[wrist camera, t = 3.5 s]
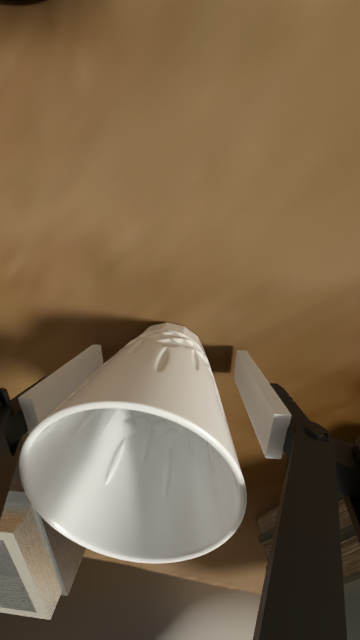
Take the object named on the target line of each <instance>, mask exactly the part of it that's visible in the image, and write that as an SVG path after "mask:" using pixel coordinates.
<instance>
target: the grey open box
mask: <svg viewBox="0 0 360 640" xmlns="http://www.w3.org/2000/svg"><path fill="white" fill-rule="evenodd" d="M28 435H29V433H28V431H27V432H26V433H25V434H24V435H23V436H22V439H23V444H24V442H25V440H26V438H27V437H28ZM23 444H22V446H23ZM21 449H22V447H21ZM20 453H21V451H20ZM19 458H20V454H19ZM19 458H18V461H17V465H16V468H15V471H14V475H13V478H12V482H11V485H10V488H9V492H8V495H7V499H6V502H5V506H4V509H3V512H2V516H1V519H0V612H2V613H9V614H15V615H22V616H29V617H36V618H42V619H48V620H50V619H51V616H52V614H53V612H54V609H55V606H56V604H57V602H58V599H59V597H60V595H66V596H68V593H69V591H70V588H71V586H72V583H73V580H74V578H75V575H76V573H77V570H78V567H79V565H80V562H81V560H82V557H83V554H84V552H85V549H86V548H85V547H83V546H81V545H79V544H77V543H75V542H73V541H72V540H70V539H68V538H67V537H65V536H64V535H62V534H61V533H59V532H58V531H57V530H55V529H54V528H53V527H52V526H51V525H49V524H48V523H47V522H46V521H45V520H44V519H43V518H42V517H41V516H40V515H39V513H38V512H37V511H36V510H35V508H34V507H33V506H32V504H31V503H30V501H29V499H28V498H27V496H26V494H25V492H24V489H23V486H22V483H21V480H20V474H19Z"/></svg>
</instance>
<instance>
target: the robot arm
mask: <svg viewBox="0 0 360 640" xmlns="http://www.w3.org/2000/svg"><path fill="white" fill-rule="evenodd" d="M102 365H103V357H102V349H101V345H91V346H90V347H88V348H87V349H86V350H84V351H83V352H81V353H80V354H79V355H77V356H76V357H74V358H73V359H72V360H70V361H69V362H67V363H66V364H65V365H63V366H62V367H60V368H59V369H58V370H56V371H55V372H53V373H51V374H49V375H47V376H45V377H43V378H42V379H40V380H39V381H37V383H35V384H33V385H32V386H31V387H29V388H27V389H26V390H25V391H23V392H22V393H20V394H19V395H17V396H16V397H14V398H13V399H12V400H10V399H9V396H8V393H7V390H6V389H4V388H0V519H1V516H2V512H3V509H4V506H5V502H6V499H7V495H8V492H9V488H10V485H11V482H12V478H13V475H14V471H15V468H16V465H17V461H18V458H19V454H20V451H21V447H22V444H23V439H22V436H23V435H24V434H25V433H26V432H27V431H28V433H29V434H30V432H31V431H32V430H33V429H34V428H35V427H36V426H37V425H38V424H39V423H40V422H41V421H42V420H43V419H44V418H46V417H47V416H48V415H49V414H50V413H51V412H52V411H53V410H54V409H55V408H57V407H58V406H59V405H60V404H61V403H62V402H63V401H64V400H65V399H66V398H68V397H69V396H70V395H71V394H72V393H73V392H74V391H75V390H76V389H77V388H78V387H80V386H81V385H82V384H83V383H84V382H85V381H86V380H87V379H88V378H89V377H90V376H92V375H93V374H94V373H95V372H96V371H97V370H98V369H99V368H100V367H101V366H102ZM234 380H235V383H236V385H237V388H238V390H239V393H240V395H241V398H242V400H243V403H244V405H245V408H246V410H247V413H248V415H249V418H250V420H251V423H252V425H253V428H254V430H255V433H256V436H257V438H258V441H259V443H260V446H261V448H262V451H263V453H264V456H265V458H272V459H281V458H282V454H283V451H284V453H285V454H286V456H287V458H288V462H287V466H286V470H285V473H284V481H283V487H282V492H281V497H280V502H279V507H278V512H277V518H276V523H275V528H274V533H273V538H272V544H271V549H270V554H269V559H268V564H267V569H266V575H265V580H264V585H263V590H262V595H261V601H260V606H259V611H258V616H257V621H256V627H255V632H254V637H253V640H347V630H346V615H345V599H344V584H343V569H342V553H341V538H340V522H339V507H338V493H340V494H342V496H343V499H344V502H345V504H346V507H347V510H348V513H349V516H350V519H351V521H352V524H353V527H354V530H355V533H356V536H357V539H358V541H359V544H360V437H357V439H356V440H355V443H354V444H353V443H350V442H347V441H344V440H340V439H337V438H334V437H332V435H331V434H330V433H329V432H328V431H327V430H326V429H325V428H323V427H322V426H320V425H319V424H317V423H315V422H312V421H310V420H309V419H308V418H307V417H306V415H305V414H304V413H303V412H302V410H301V409H300V408H299V407H298V405H297V404H296V403H295V402H294V400H293V399H292V398H291V397H290V396H289V394H288V393H287V392H286V390H285V389H284V388H282V387H281V386H279V385H278V384H273V383H269V382H268V381H267V379H266V378H265V377H264V375H263V374H262V372H261V371H260V369H259V368H258V367H257V365H256V364H255V362H254V361H253V359H252V358H251V357H250V355H249V354H248V352H247V351H246V350H237V354H236V362H235V371H234Z"/></svg>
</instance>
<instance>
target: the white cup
mask: <svg viewBox="0 0 360 640" xmlns="http://www.w3.org/2000/svg"><path fill="white" fill-rule="evenodd" d="M19 474H20V480H21V483H22V486H23V489H24V492H25V494H26V496H27V498H28V499H29V501H30V503H31V504H32V506H33V507H34V508H35V510H36V511H37V512H38V513H39V515H40V516H41V517H42V518H43V519H44V520H45V521H46V522H47V523H48V524H49V525H51V526H52V527H53V528H54V529H55V530H57V531H58V532H59V533H61V534H62V535H64V536H65V537H67V538H68V539H70V540H72V541H73V542H75V543H77V544H79V545H81V546H83V547H85V548H87V549H89V550H92V551H94V552H97V553H100V554H103V555H106V556H109V557H112V558H116V559H121V560H126V561H131V562H139V563H173V562H180V561H185V560H189V559H193V558H196V557H199V556H202V555H204V554H207V553H209V552H211V551H213V550H215V549H216V548H218V547H219V546H221V545H222V544H224V543H225V542H226V541H227V540H228V539H229V538H230V537H231V536H232V535H233V534H234V533H235V532H236V530H237V529H238V527H239V526H240V524H241V522H242V520H243V517H244V515H245V511H246V506H247V491H246V485H245V481H244V478H243V474H242V471H241V468H240V464H239V461H238V457H237V454H236V451H235V447H234V444H233V440H232V437H231V434H230V430H229V427H228V423H227V420H226V416H225V413H224V409H223V406H222V402H221V399H220V395H219V392H218V388H217V385H216V382H215V379H214V376H213V373H212V370H211V367H210V364H209V361H208V359H207V356H206V352H205V350H204V348H203V346H202V344H201V342H200V340H199V338H198V336H196V335H195V334H194V333H192V332H191V331H190V330H188V329H187V328H186V327H184V326H181V325H177V324H172V323H167V322H166V323H162V324H157V325H153V326H150V327H148V328H147V329H146V330H145V331H143V332H142V333H141V334H140V335H139V336H137V337H136V338H135V339H133V340H131V341H130V342H129V343H128V344H127V345H126V346H124V347H123V348H122V349H121V350H120V351H118V352H117V353H116V354H115V355H114V356H112V357H111V358H110V359H109V360H108V361H107V362H105V363H104V364H103V365H102V366H101V367H100V368H99V369H98V370H97V371H96V372H95V373H94V374H93V375H92V376H90V377H89V378H88V379H87V380H86V381H85V382H84V383H83V384H82V385H81V386H80V387H78V388H77V389H76V390H75V391H74V392H73V393H72V394H71V395H70V396H69V397H68V398H66V399H65V400H64V401H63V402H62V403H61V404H60V405H59V406H58V407H57V408H55V409H54V410H53V411H52V412H51V413H50V414H49V415H48V416H47V417H46V418H44V419H43V420H42V421H41V422H40V423H39V424H38V425H37V426H36V427H35V428H34V429H33V430H32V431H31V432H30V434H29V435H28V437H27V438H26V440H25V442H24V444H23V446H22V449H21V453H20V458H19Z"/></svg>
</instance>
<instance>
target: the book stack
mask: <svg viewBox="0 0 360 640" xmlns="http://www.w3.org/2000/svg"><path fill="white" fill-rule="evenodd" d="M278 507H279V505H277V506H276V507H274V508H273V509H271V510H269V511H268V512H266V513H264V514H263V515H261V516H260V517H258V518H257V522H258V526H259V530H260V533H261V535H260V536H258V537H259V541H260V543H261V544H262V545H264V549H265V552H266V556H267V560H268V559H269V554H270V549H271V544H272V538H273V533H274V528H275V523H276V518H277V512H278ZM338 507H339V522H340V538H341V553H342V569H343V584H344V599H345V615H346V630H347V640H360V544H359V541H358V539H357V536H356V533H355V530H354V527H353V524H352V521H351V519H350V516H349V513H348V510H347V507H346V504H345V502H344V499H343V496H342V494H340V493H338ZM266 569H267V567H266Z"/></svg>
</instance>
